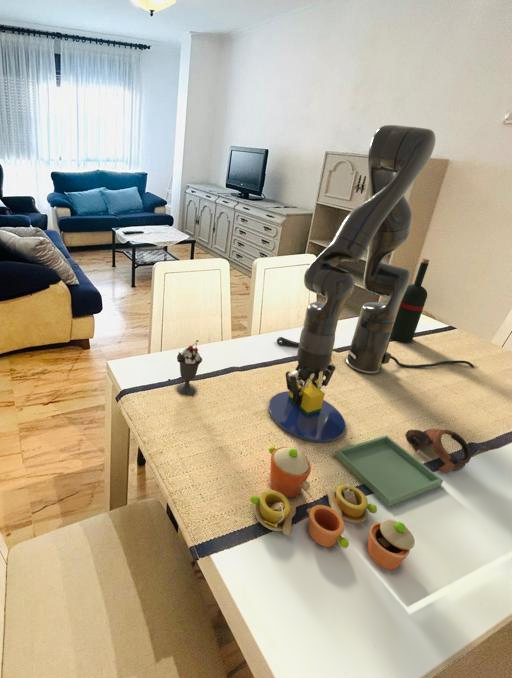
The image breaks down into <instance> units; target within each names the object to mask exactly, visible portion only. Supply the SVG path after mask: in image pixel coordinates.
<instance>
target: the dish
mask: <svg viewBox="0 0 512 678" xmlns="http://www.w3.org/2000/svg"><path fill="white" fill-rule="evenodd" d="M334 457H336V458H337V459H338V460H339V461H340V462H341V463H342V464H343V465H344V466H345V468H347V469H348V470H349V471H350V472H351V473H352V474H353V475H354V476H355V477H356V478H357V479H358V480H359V481H360V482H361V483H362V484H363V485H364V486H366V488H368V490H370V491H371V492H372V493H373V494H374V495H375V496H376V497H377V498H378V499H379V500H380V501H381V502H382V503H383V504H384V505H385V506H386V507H387V508H389V507H392V506H394V505H397V504H398V503H402V502H404V501H407V500H409V499H412V498H414V497H417V496H418V495H421V494H424V493H427V492H429V491H432V490H434V489H437V488H439V487H441V486H442V484H443V481H444V479H442V478H441V477H440V476H439V475H437V474H436V473H435V472H434V471H432V470H431V469H430V468H428V467H427V466H426V465H425V464H424V463H422V462H421V461H420V460H419V459H417V458H416V457H415V456H414V455H413V454H411V453H410V452H408V451H407V450H406V449H404V448H403V447H402V446H401V445H400V444H399V443H397V442H396V441H395V440H393V439H392V438H391V437H389V435H387V434H386V435H382V436H380V437H376V438H373V439H370V440H367V441H362V442H359V443H356V444H353V445H350V446H347V447H344V448H343V447H342V448H341V449H336V452H335V456H334Z"/></svg>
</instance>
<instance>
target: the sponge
mask: <svg viewBox="0 0 512 678" xmlns="http://www.w3.org/2000/svg"><path fill="white" fill-rule="evenodd" d="M302 381H303V380H302ZM303 382H304V381H303ZM304 383H305V382H304ZM300 387H301V386H300V385H299V387H298V388H299V389H300ZM325 395H326V393H325V392H323V391H322V389H321V390H320V389H318V388H317V387H316V386H315V385H313V384H312V383H311V382H310V384H309V386H308V388H305V390H304V392H303V398H302V403H301V406H297V405H296V404H295V403H294V402H293V401H292V398H293V393H291V392H289V397H288V398H289V399H290V400H291V401H292V402H293V403H294V404H295V405H296V406H297V407H298V408H299V409H301V410H302V411H303V412H304V413H305V414H306V415H310V414H313V413H316V412H320V411H321V408H322V403H323V400H325Z"/></svg>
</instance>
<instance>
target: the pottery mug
mask: <svg viewBox="0 0 512 678" xmlns="http://www.w3.org/2000/svg"><path fill="white" fill-rule="evenodd" d="M444 435H449V436H450V438H451V439H452V440H453V441H455V442H456V443H458V444H459V445H460V447H461V453H462V454H463V459H454V460H453V461H452V456H451V454H449V452H447V450H446V449H445V447H444V445H443V443H442V442H443V441H442V438H443V436H444ZM404 436H405V440H406V441H407V443H408V444H409V445H411V446H412V449H413V450H414V451H415V452H418V451H419V450H420V449H421V448H422V447H426V446H427V445H429V444H430V447H431V448H432V450H433V451H434V452H435V454H436V456H438V458H439V459H440V460H441V462H443V465H440V466H439V467H438V471H440V472H443V473H450V472H454V473H455V472H458V471H460V470H462V469H464V468H465V467H466V465H467V464H468V463H470V460H471V459H472V453H471V448H470V446H469V444H468V443H467V441H466V440H465V439H464V437H462V436H461V435H460V434H458V433H457V432H456V431H453V430H450V429H442V428H435V427H433V428H432V427H431V428H428V429H425V430H420V429H408V430H407V431H406V432H405V435H404Z"/></svg>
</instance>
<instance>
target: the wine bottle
mask: <svg viewBox="0 0 512 678" xmlns="http://www.w3.org/2000/svg"><path fill="white" fill-rule="evenodd" d="M429 262H430V259H429V258H421V262H420V264H419V267H418V271H417V272H416V273H417V274H416V277H415V279H414V282H413V283H411V284H408V287H407V289H406V292H405V294H404V297H403V299H402V302H401V305H400V308H399V310H398V313H397V316H396V319H395V322H394V325H393V328H392V332H391V335H390V338H389V339H391V340H393V341H395V342H397V343H403V344H410V343H413V339H414V337H415V333H416V330H417V328H418V325H419V322H420V320H421V319H420V318H421V316H422V313H423V310H424V307H425V304H426V301H427V298H428V291H427V289H426V288H425V287H423V286H422V285H423V282H424V278H425V275H426V273H427V270H428V267H429Z"/></svg>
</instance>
